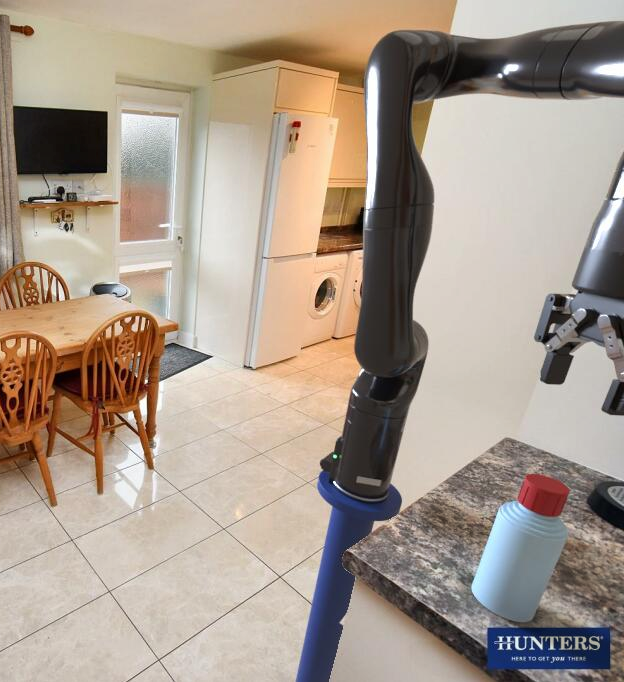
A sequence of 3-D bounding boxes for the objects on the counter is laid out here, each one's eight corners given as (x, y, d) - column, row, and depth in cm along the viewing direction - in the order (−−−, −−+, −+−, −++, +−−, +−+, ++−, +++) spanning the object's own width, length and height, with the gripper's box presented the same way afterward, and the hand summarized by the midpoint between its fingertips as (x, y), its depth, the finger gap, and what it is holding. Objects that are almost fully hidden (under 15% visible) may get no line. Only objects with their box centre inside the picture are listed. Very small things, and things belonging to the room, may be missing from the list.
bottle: (465, 597, 59) (505, 484, 54) (477, 573, 63) (516, 465, 58) (528, 632, 55) (580, 512, 49) (537, 603, 59) (586, 489, 53)
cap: (514, 504, 54) (522, 481, 53) (520, 491, 57) (528, 469, 56) (557, 522, 52) (567, 498, 51) (562, 507, 54) (571, 484, 53)
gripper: (539, 239, 51) (497, 371, 57) (679, 256, 38) (607, 428, 43) (608, 241, 51) (560, 374, 56) (776, 258, 37) (691, 432, 42)
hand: (580, 397), depth 49 cm, fingers open, 7 cm apart
